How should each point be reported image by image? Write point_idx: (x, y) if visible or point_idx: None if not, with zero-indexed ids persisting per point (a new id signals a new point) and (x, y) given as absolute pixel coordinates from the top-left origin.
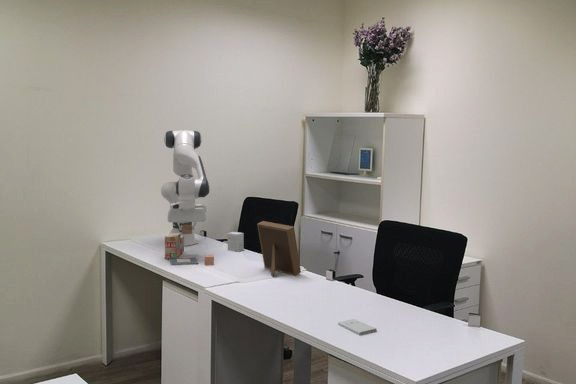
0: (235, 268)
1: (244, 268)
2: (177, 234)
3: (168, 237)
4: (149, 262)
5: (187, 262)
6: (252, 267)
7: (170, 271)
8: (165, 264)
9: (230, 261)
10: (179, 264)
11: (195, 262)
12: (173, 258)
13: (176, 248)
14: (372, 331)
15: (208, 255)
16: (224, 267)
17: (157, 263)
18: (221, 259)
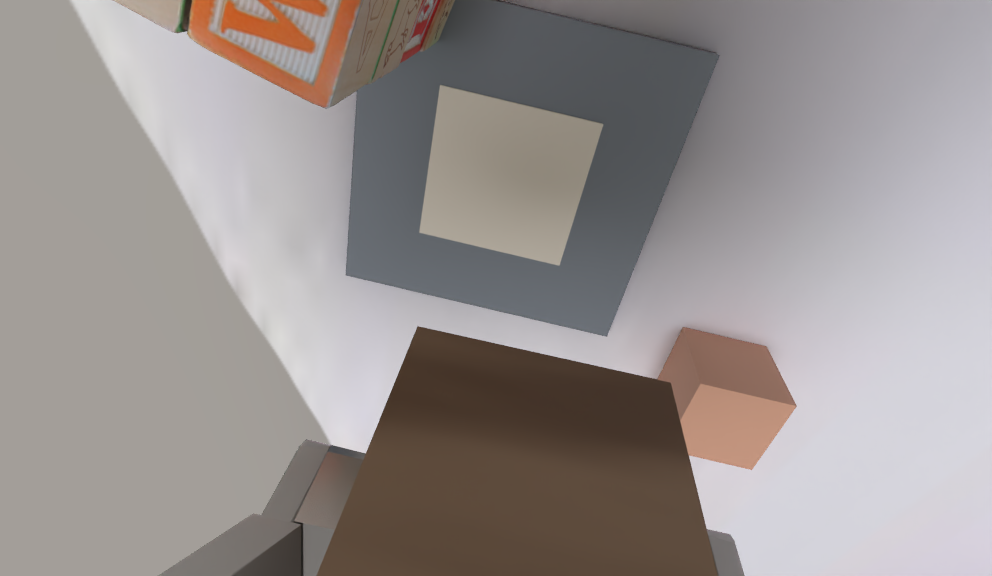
0: (820, 538)
1: (881, 559)
2: None
3: (144, 6)
4: (121, 61)
5: (518, 279)
6: (959, 563)
7: (329, 431)
8: (300, 219)
9: (974, 358)
10: (431, 290)
11: (595, 308)
12: None
13: (423, 5)
14: None
15: (738, 403)
16: (763, 491)
17: (216, 146)
18: (964, 245)
